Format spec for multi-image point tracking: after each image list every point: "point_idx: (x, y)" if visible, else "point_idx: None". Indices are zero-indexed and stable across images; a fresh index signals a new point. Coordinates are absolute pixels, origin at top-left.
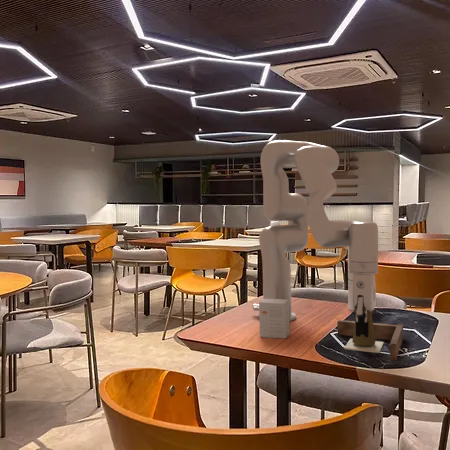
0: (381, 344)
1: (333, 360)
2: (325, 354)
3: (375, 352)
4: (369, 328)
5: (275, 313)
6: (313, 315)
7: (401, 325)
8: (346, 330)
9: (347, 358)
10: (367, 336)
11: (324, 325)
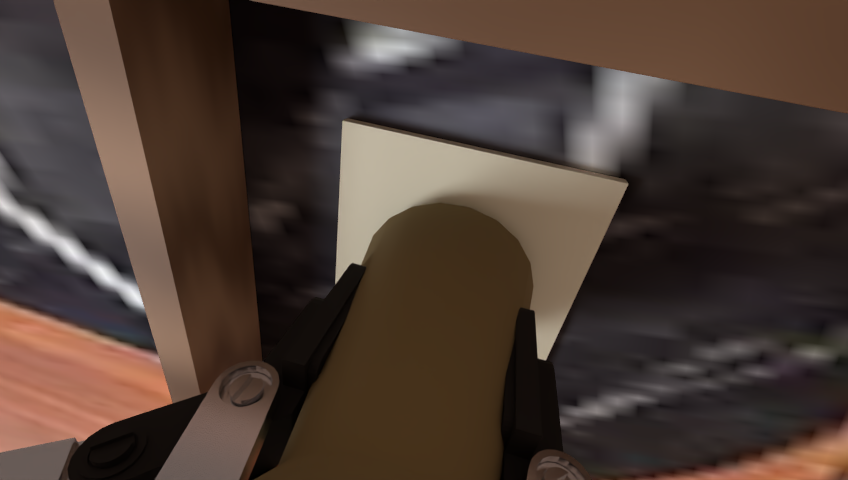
0: (419, 146)
1: (767, 453)
2: (640, 463)
3: (611, 208)
4: (501, 348)
5: None
6: (27, 399)
7: None
8: (239, 346)
9: (737, 388)
10: (530, 315)
11: (142, 387)
